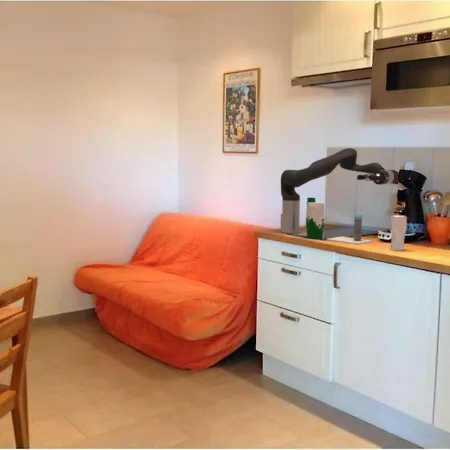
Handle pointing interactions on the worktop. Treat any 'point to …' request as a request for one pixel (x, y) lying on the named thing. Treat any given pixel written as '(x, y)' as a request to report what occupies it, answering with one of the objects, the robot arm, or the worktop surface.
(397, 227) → the beer glass
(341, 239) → the pad
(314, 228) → the milk carton
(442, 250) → the worktop surface
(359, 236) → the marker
